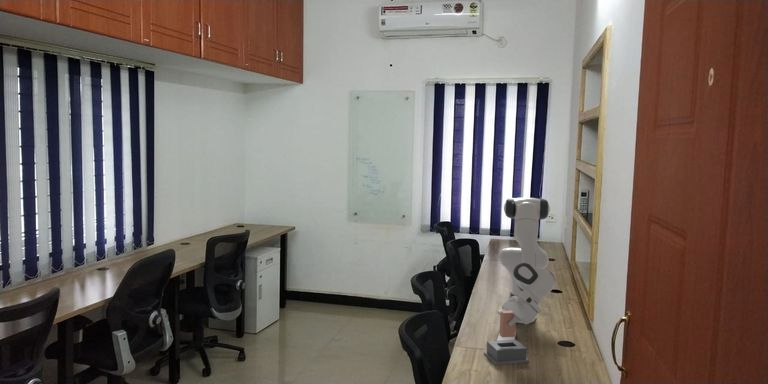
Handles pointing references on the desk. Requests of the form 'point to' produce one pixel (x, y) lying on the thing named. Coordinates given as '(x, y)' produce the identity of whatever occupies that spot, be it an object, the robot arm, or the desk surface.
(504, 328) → the salmon pink rectangular block
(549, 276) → the robot arm
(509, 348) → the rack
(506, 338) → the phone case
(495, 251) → the desk surface
